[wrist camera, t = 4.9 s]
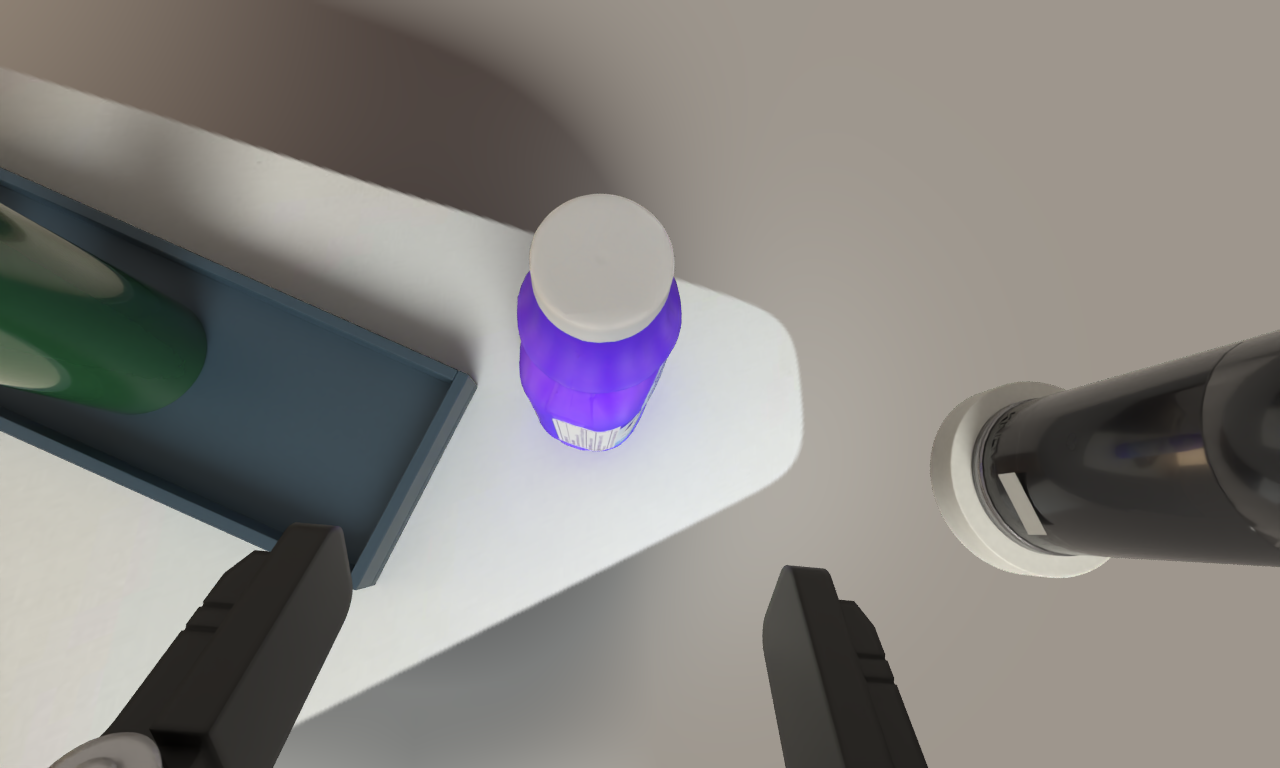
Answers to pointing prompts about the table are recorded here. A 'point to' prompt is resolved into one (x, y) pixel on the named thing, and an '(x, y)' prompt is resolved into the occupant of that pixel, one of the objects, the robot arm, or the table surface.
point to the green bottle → (89, 326)
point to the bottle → (596, 318)
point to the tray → (254, 404)
